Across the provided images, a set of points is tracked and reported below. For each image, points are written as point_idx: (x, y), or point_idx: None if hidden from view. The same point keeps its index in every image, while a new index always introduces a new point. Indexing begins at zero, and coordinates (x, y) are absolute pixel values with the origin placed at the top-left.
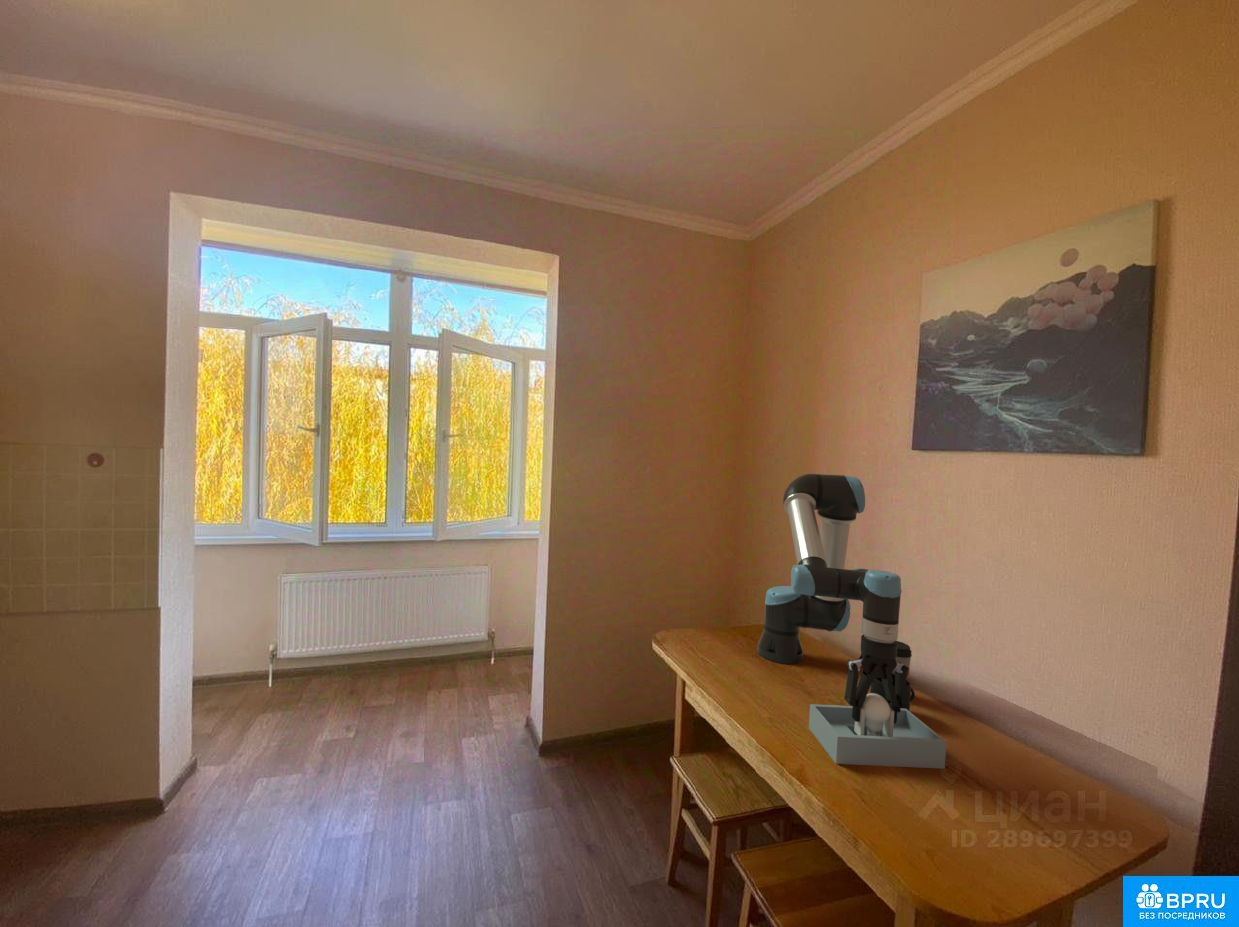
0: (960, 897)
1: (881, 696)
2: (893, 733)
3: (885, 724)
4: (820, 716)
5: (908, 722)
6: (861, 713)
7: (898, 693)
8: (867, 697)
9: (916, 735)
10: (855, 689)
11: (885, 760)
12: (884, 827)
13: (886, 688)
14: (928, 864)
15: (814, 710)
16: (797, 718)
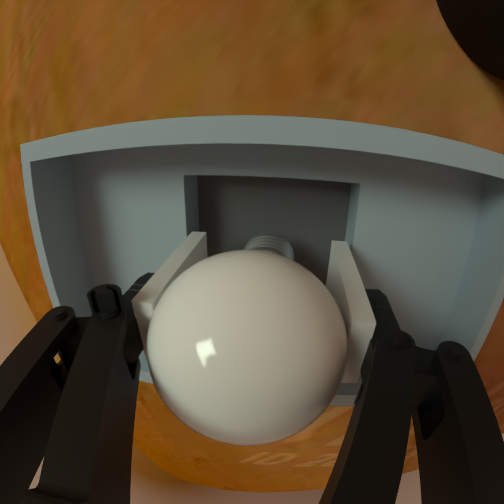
0: (199, 479)
1: (280, 429)
2: (385, 237)
3: (335, 279)
4: (36, 248)
5: (493, 198)
6: None
7: (436, 444)
8: (163, 397)
9: (465, 252)
10: (47, 435)
11: None
12: (156, 432)
13: (328, 491)
14: (188, 464)
15: (28, 190)
16: (75, 75)
